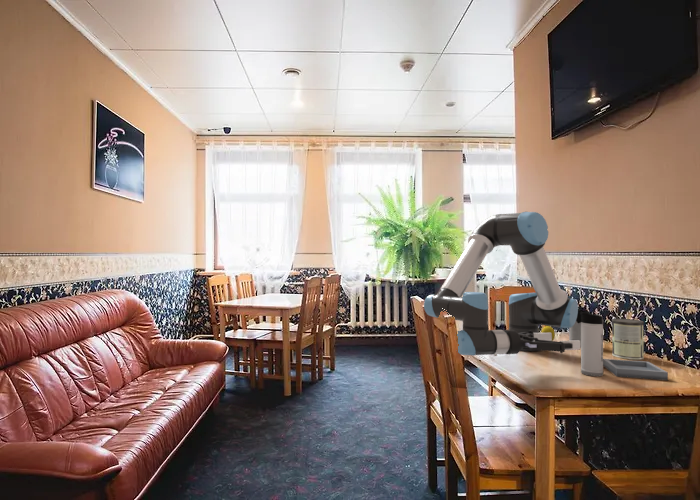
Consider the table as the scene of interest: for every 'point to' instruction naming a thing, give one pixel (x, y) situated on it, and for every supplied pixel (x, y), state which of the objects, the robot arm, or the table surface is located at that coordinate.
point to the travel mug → (591, 344)
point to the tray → (635, 369)
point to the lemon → (549, 331)
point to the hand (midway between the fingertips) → (564, 340)
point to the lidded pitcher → (577, 328)
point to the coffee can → (627, 339)
